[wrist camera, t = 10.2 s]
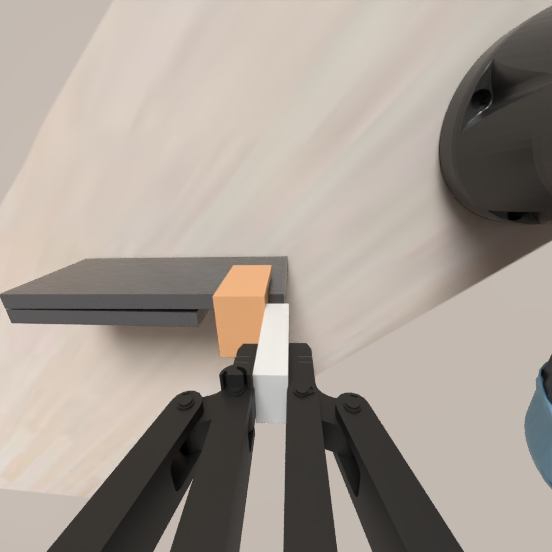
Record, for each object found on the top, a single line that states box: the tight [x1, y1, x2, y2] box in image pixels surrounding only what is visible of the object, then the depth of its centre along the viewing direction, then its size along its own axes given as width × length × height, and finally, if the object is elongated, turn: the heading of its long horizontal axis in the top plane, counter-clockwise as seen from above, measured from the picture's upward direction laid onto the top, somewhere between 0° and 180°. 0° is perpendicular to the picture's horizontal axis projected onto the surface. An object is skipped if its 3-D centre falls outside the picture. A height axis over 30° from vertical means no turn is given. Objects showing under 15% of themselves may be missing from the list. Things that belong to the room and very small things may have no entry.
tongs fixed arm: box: [0, 257, 287, 309], centre depth 24 cm, size 22×3×9 cm, turn 92°
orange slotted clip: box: [213, 265, 272, 357], centre depth 20 cm, size 3×4×6 cm
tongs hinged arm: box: [6, 309, 209, 327], centre depth 24 cm, size 15×1×9 cm, turn 91°
